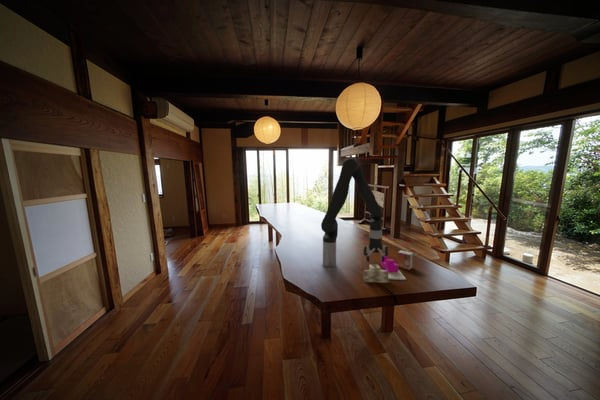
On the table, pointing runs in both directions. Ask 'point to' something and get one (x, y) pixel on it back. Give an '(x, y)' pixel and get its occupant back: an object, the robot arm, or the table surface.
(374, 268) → the birch cube
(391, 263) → the toy block
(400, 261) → the small box
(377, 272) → the screen
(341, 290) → the table surface
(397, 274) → the pad
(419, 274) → the table surface
